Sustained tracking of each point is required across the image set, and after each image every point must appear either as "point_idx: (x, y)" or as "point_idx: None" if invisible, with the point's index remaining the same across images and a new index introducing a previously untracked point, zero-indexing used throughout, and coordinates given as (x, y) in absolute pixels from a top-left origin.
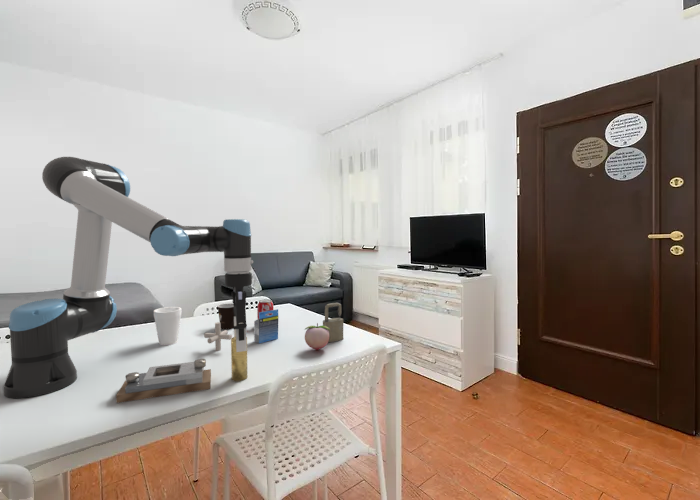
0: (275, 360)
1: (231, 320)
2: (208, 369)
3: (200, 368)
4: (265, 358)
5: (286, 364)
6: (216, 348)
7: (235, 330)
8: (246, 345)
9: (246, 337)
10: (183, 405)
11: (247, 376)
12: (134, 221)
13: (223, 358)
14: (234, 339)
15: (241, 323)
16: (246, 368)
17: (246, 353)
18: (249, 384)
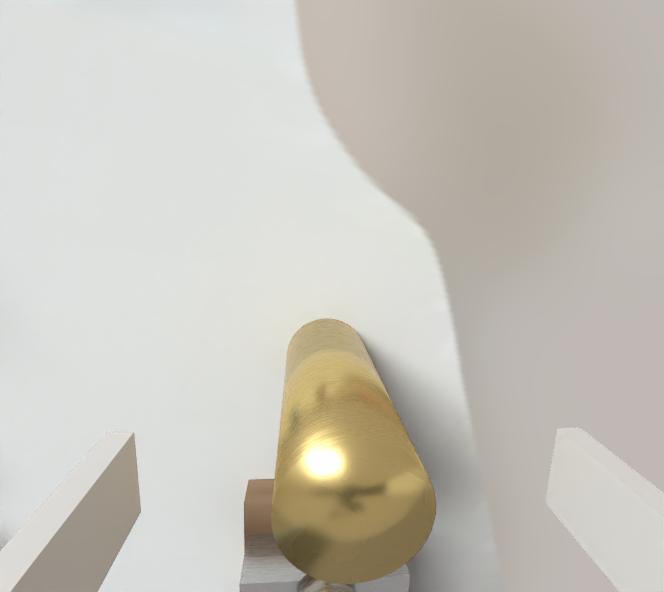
0: (136, 124)
1: None
2: (244, 514)
3: (359, 587)
4: (79, 183)
5: (231, 66)
6: None
7: (102, 568)
8: (619, 459)
9: (358, 445)
10: (489, 552)
11: (332, 319)
12: None
13: (11, 427)
14: (378, 555)
15: (37, 587)
16: (355, 341)
17: (370, 378)
18: (421, 317)
